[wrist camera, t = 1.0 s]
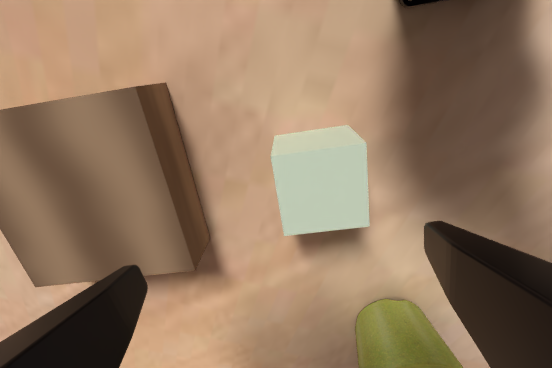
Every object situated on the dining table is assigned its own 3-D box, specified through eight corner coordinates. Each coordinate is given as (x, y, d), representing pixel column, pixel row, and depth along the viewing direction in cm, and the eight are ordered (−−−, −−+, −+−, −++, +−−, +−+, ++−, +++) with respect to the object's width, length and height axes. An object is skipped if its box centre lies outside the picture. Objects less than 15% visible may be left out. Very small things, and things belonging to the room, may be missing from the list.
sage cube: (347, 124, 19) (366, 143, 15) (351, 191, 21) (369, 226, 16) (274, 135, 20) (270, 156, 15) (285, 199, 22) (284, 235, 17)
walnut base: (165, 82, 18) (135, 86, 15) (210, 237, 23) (195, 270, 19) (1, 110, 20) (-66, 120, 16) (74, 253, 24) (35, 287, 20)
